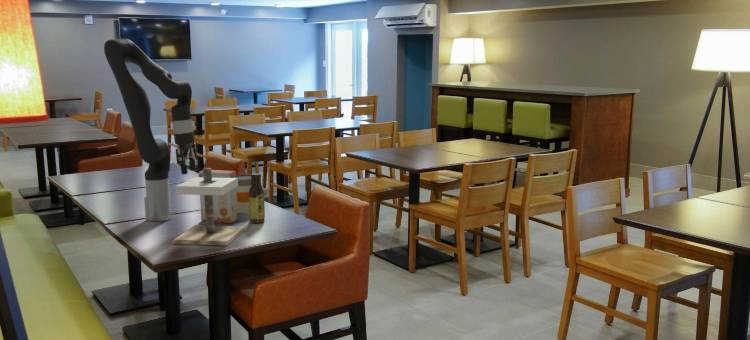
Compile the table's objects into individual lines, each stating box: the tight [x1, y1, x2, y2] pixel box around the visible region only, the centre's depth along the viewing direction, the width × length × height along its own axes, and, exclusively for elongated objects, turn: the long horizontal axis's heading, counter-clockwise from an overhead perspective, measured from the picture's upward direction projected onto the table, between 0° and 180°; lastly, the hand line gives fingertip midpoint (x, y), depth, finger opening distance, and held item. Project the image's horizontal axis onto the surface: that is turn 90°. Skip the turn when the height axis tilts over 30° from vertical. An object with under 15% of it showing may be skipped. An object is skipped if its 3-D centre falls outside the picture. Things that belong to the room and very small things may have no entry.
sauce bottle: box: [248, 172, 266, 224], centre depth 255 cm, size 7×6×20 cm
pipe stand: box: [173, 167, 246, 246], centre depth 233 cm, size 20×20×26 cm
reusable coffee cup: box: [236, 173, 252, 214], centre depth 274 cm, size 13×13×15 cm
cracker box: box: [198, 169, 239, 224], centre depth 257 cm, size 14×6×21 cm, turn 71°
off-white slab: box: [175, 176, 238, 196], centre depth 232 cm, size 17×17×3 cm
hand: (188, 172), depth 248 cm, fingers open, 8 cm apart
